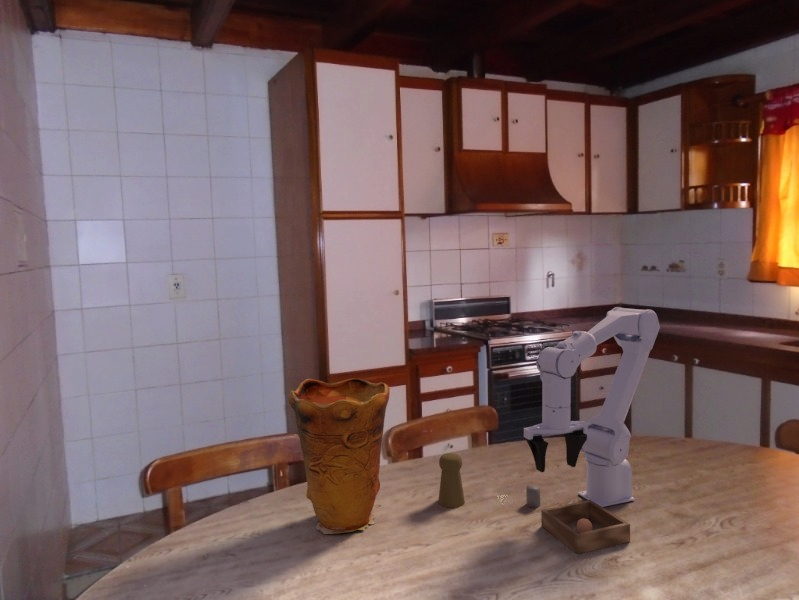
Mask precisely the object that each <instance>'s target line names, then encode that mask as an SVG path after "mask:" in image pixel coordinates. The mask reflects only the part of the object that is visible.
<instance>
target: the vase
mask: <svg viewBox="0 0 799 600" xmlns="http://www.w3.org/2000/svg"><path fill="white" fill-rule="evenodd" d="M390 389H391V388H390V386H389V385H388V384H386V383H385V382H378V383H375V382H374V383H373V382H370V381H368V380H367V379H364V378H363V379H362V378H354V377H353V378H352V377H351V378H348V379H345V380H341V381H338V382H334V383H331V382H325V381H322V380H317V379H314V378H307V379H305V380H303V381H301V382H300V384H299V385H298V387H297V388H296V389H295V390H293V389H291V390H290V391H289V393H288V404H289V405H290V407H291V408H292V410H293V411H294V418H295V423H296V427H297V428H296V429H297V434H298V438H299V441H300V447H301V448H300V449H301V450H302V452H301V453H302V458H303V459H302V460H303V465H304V470H305V475H306V483H307V489H306V498H307V499H308V500H310V502H311V504H312V508H313V511H314V514H315V516H316V519H315V521H317V522H318V523H316V527H315V529H316V530H317V531H320V533H321V532H322V534H323V535H328V534H329V535H333V534H341V533H352V532H355V531H357V530H358V531H364V530H365V529H366V528H369V525H374V524H376V522H375V521H374V518H375V517H376V516H375V515H373V514H372V511H373V508H374V505H375V500H376V498H377V495H378V493H379V491H380V489H381V481H380V477H379V475H380V467H381V465H380V464H381V454H382V444H383V443H382V442H383V436H384V427H385V419H386V410H387V407H388V404H389V399H390V393H391V392H390Z"/></svg>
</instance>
